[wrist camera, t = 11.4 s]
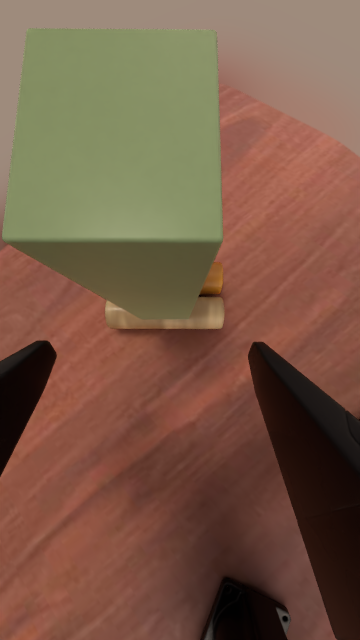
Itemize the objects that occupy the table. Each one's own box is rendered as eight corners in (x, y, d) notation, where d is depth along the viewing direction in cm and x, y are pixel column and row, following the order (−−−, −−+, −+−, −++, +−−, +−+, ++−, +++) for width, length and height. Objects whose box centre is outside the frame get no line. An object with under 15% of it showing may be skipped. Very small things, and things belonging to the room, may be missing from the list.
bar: (188, 319, 16) (224, 241, 4) (140, 319, 16) (-2, 240, 4) (188, 264, 17) (217, 26, 4) (142, 264, 17) (25, 25, 4)
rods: (217, 329, 20) (224, 327, 16) (116, 329, 19) (103, 327, 16) (216, 269, 20) (223, 256, 17) (118, 269, 20) (107, 256, 17)
